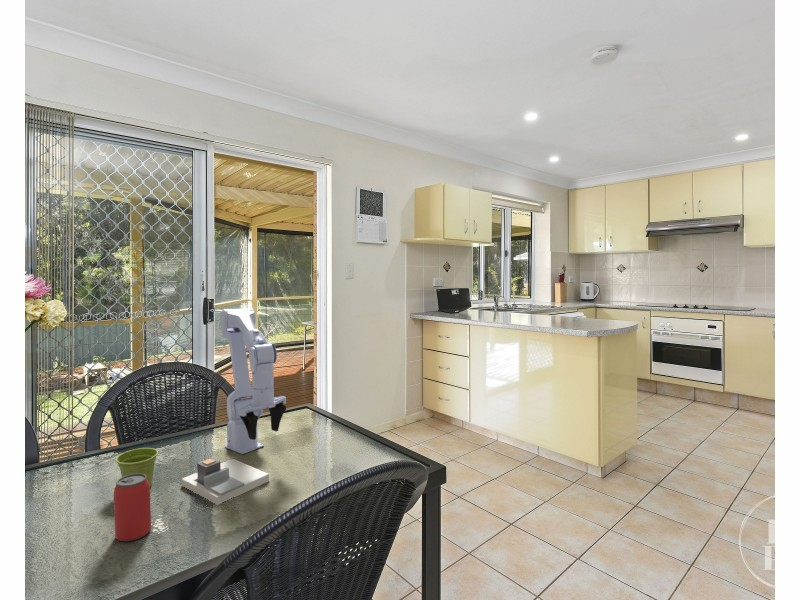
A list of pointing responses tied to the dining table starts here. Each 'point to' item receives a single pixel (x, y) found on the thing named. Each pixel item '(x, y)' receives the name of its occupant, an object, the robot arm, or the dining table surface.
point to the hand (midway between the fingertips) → (263, 434)
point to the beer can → (132, 507)
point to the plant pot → (138, 462)
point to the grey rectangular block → (207, 468)
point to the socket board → (236, 471)
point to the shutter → (221, 482)
